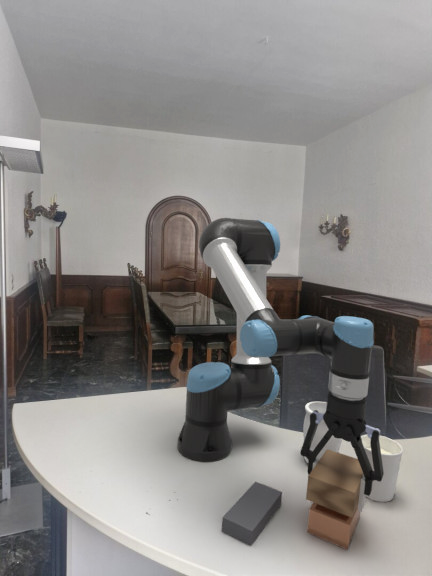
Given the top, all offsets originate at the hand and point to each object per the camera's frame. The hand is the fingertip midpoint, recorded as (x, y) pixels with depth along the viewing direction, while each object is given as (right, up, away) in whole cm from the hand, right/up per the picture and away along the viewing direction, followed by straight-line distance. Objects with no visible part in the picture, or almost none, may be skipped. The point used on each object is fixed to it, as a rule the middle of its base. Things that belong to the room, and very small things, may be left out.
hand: (336, 498), depth 83 cm
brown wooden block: (0, +2, 0) cm, 2 cm away
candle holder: (+13, -5, +13) cm, 20 cm away
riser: (-17, -5, +2) cm, 18 cm away
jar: (+3, -4, +25) cm, 26 cm away
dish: (0, -6, +1) cm, 6 cm away
